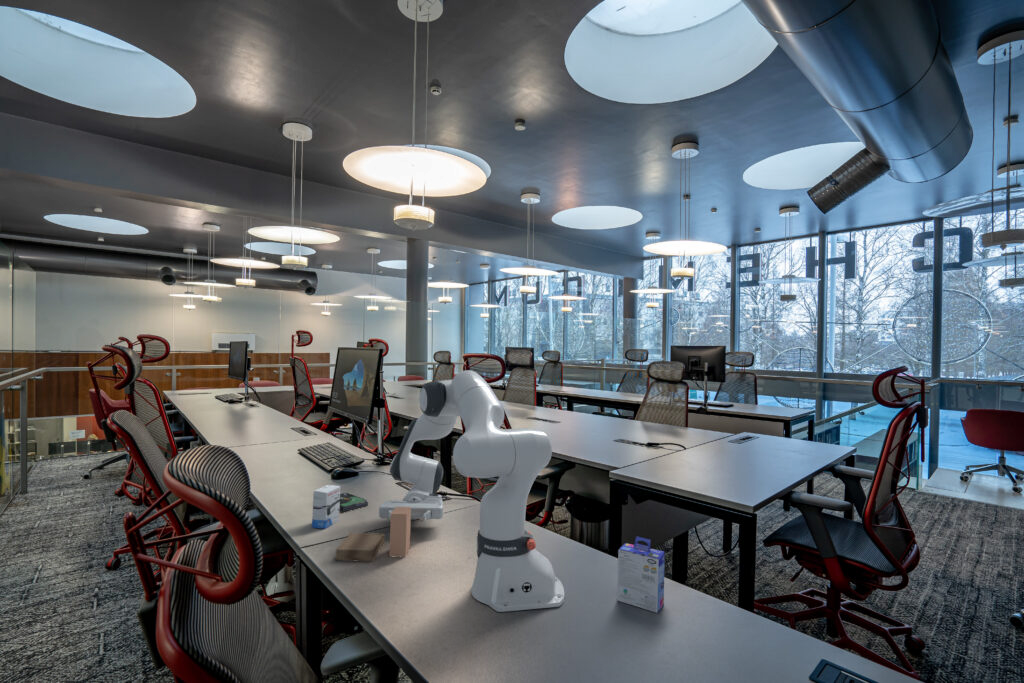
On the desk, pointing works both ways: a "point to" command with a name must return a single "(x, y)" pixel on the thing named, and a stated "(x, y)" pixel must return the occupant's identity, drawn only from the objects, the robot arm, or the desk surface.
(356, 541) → the plinth
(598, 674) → the desk surface
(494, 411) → the robot arm
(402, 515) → the terracotta block
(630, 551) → the ink cartridge box
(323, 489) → the ink box
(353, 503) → the disk drive
